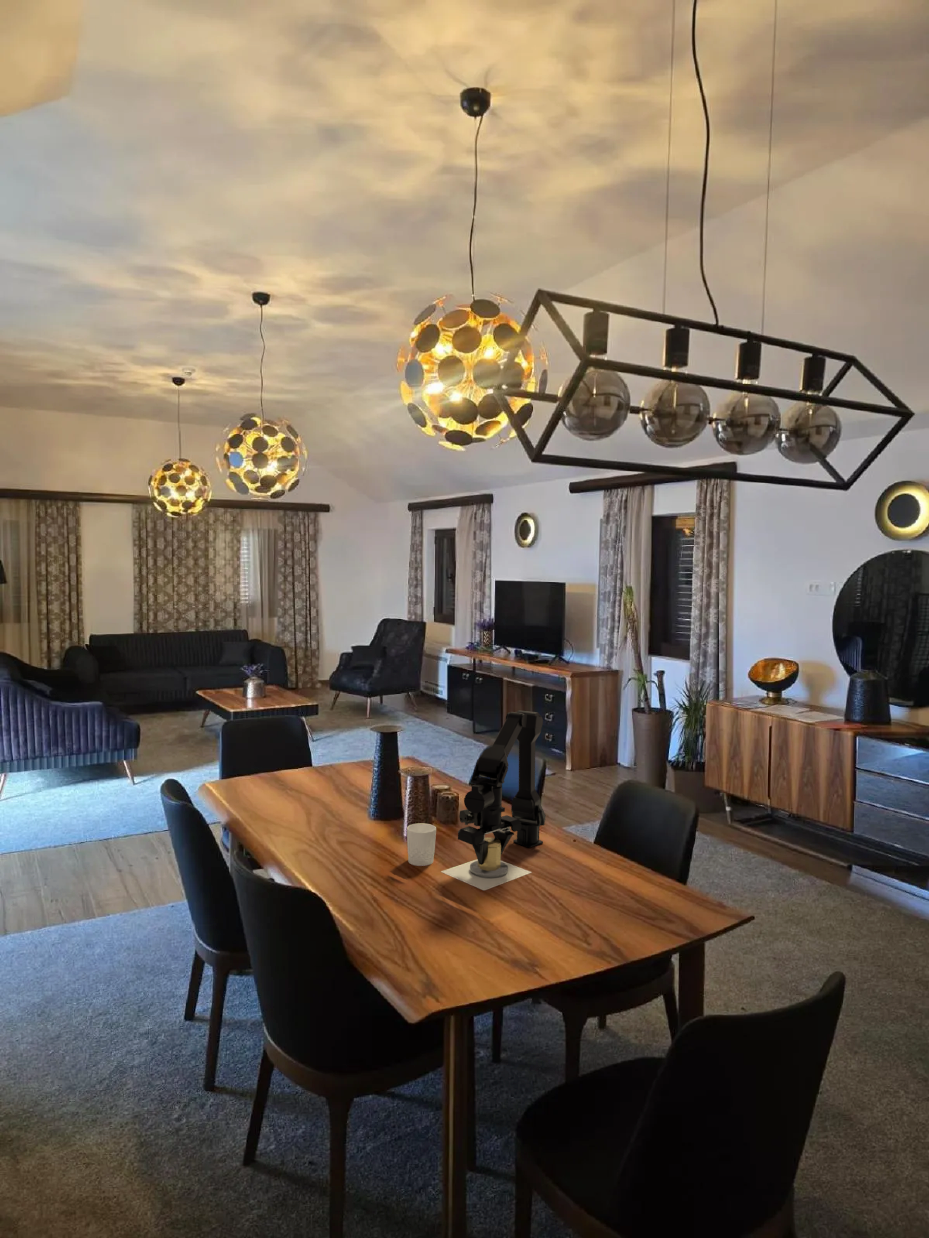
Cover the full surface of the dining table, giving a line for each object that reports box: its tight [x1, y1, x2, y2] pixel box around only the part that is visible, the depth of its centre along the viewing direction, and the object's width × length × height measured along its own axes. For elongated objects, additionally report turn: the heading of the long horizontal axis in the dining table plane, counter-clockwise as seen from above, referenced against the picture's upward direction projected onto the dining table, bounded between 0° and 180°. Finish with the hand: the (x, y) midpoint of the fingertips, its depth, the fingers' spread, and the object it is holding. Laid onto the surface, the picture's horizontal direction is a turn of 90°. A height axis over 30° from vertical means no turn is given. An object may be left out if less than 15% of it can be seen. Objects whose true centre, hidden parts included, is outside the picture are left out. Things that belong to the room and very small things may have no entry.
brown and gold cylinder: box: [478, 837, 502, 871], centre depth 206 cm, size 6×6×7 cm
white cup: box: [406, 822, 437, 867], centre depth 212 cm, size 8×8×10 cm
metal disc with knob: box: [470, 861, 508, 878], centre depth 206 cm, size 10×10×6 cm
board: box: [440, 859, 532, 891], centre depth 206 cm, size 18×16×1 cm
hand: (489, 861), depth 206 cm, fingers closed on brown and gold cylinder, 6 cm apart
